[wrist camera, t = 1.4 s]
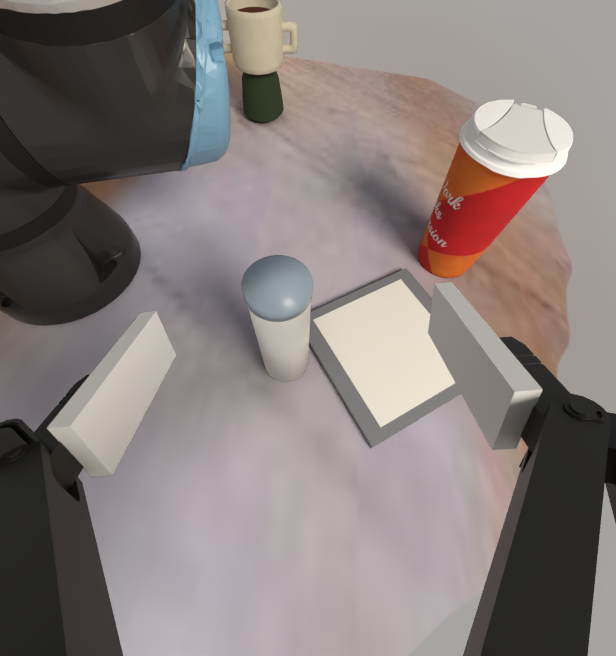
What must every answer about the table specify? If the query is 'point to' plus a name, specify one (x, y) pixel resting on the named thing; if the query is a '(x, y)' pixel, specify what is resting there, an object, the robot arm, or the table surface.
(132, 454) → the table surface
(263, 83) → the character mug
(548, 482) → the robot arm
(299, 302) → the thick grey marker
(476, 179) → the coffee cup
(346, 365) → the writing board
